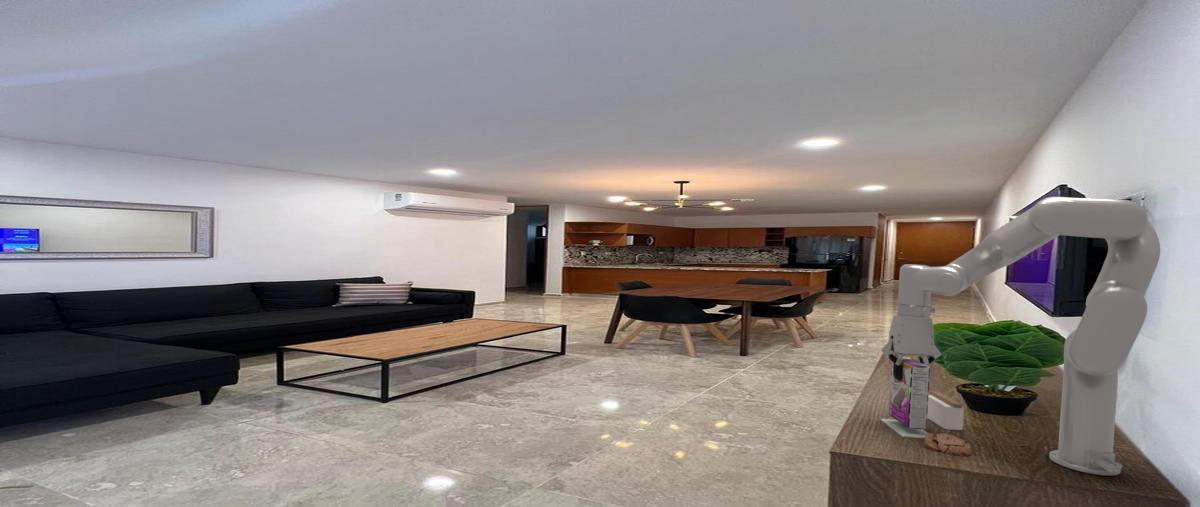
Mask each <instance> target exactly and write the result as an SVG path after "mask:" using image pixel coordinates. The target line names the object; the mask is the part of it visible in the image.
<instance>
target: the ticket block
mask: <svg viewBox="0 0 1200 507" xmlns="http://www.w3.org/2000/svg"><path fill="white" fill-rule="evenodd" d="M964 411H965V408H964V407H963V404H962V403H960V402H958V401H957V400H954V399H952V398H951V397H949V396H947V395H945V394H944V393H941V392H940V391H936V390H935V391H933V390H931V391H930V394H928V412H927V421H928V420H930V421H929V422H930V423H933V424H934V425H936V426H938V428H940V429H944V430H949V431H950V430H952V431H954V430H955V431H963V429H964V415H965V414H964Z"/></svg>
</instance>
